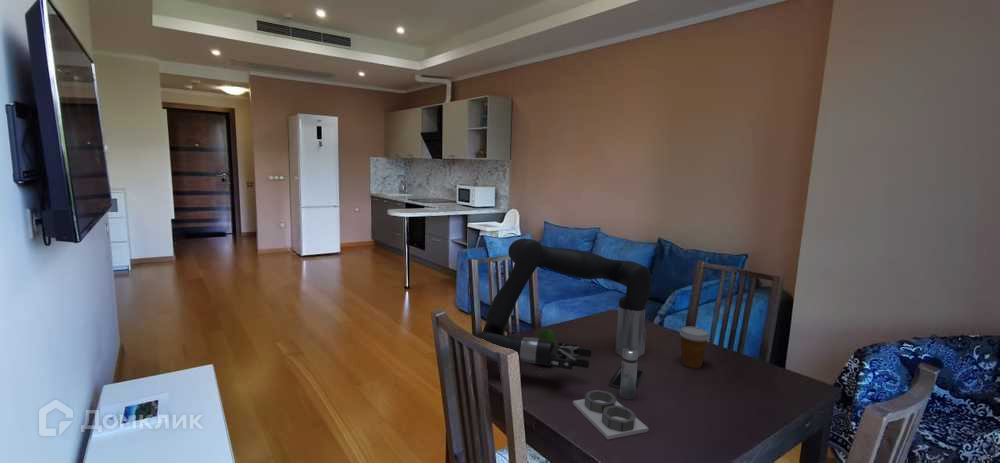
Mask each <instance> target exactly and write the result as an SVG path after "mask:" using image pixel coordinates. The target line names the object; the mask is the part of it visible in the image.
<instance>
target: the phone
mask: <svg viewBox="0 0 1000 463" xmlns="http://www.w3.org/2000/svg"><path fill="white" fill-rule="evenodd" d="M621 368H622V366H619V368H618V369H617V371H616V372H615V374H614V375H613V376H612V378H611V379H610V380H609V381H608V387H611V388H615V389H619V390H620V381H621ZM643 376H644V370H643V371H642V370H640V369H637V377H636V388H637V387H638V385H639V384H640V382H641V380H642V378H643Z"/></svg>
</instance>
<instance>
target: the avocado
mask: <svg viewBox="0 0 1000 463" xmlns="http://www.w3.org/2000/svg"><path fill="white" fill-rule="evenodd" d="M537 338H539V339H546V340H552V341H553V342H554V346H559V344H558V343H557V342H558V341H557V338H556V335H555V333H554V330H552V329H550V328H546V329H544V330H542V332H540V334H539V336H538V337H537Z"/></svg>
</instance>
